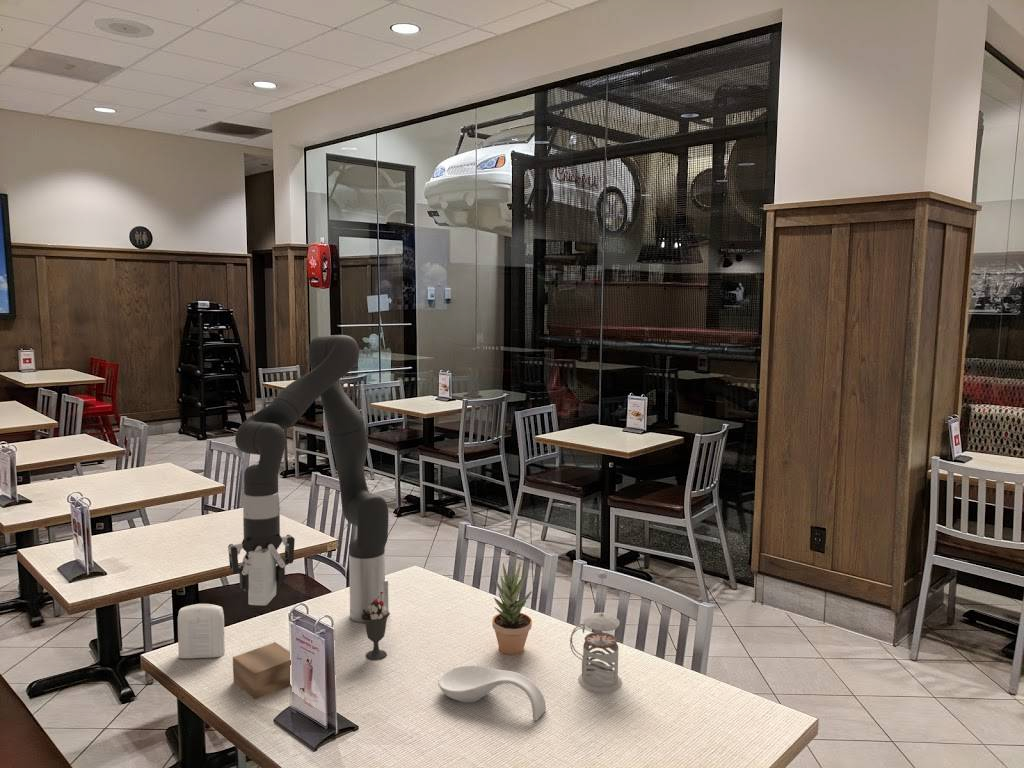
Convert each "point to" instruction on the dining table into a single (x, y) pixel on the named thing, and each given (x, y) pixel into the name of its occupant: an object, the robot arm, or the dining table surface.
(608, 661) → the french press
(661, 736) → the dining table surface
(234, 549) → the robot arm
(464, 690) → the spoon rest
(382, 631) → the sundae
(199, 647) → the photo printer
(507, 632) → the potted plant
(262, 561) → the skincare box
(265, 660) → the walnut block
